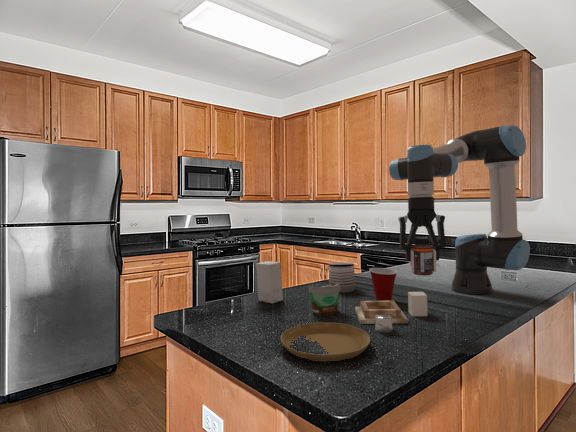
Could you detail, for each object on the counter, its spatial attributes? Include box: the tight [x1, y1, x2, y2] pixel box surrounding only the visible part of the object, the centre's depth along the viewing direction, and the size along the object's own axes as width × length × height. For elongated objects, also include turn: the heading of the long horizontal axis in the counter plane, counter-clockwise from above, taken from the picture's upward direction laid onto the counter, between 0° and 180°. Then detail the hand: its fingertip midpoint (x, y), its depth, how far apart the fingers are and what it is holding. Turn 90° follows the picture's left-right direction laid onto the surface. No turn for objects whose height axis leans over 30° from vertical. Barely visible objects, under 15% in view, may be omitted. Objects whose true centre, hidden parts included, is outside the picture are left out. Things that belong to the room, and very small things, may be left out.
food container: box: [308, 282, 341, 316], centre depth 132 cm, size 12×6×10 cm, turn 117°
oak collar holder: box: [354, 299, 409, 325], centre depth 127 cm, size 15×15×4 cm
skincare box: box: [255, 260, 284, 304], centre depth 152 cm, size 8×7×16 cm
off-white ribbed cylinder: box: [328, 261, 356, 293], centre depth 166 cm, size 11×11×12 cm
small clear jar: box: [374, 314, 393, 334], centre depth 114 cm, size 5×5×4 cm
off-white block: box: [407, 291, 428, 317], centre depth 128 cm, size 5×5×7 cm
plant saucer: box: [280, 322, 371, 362], centre depth 103 cm, size 24×24×3 cm
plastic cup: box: [369, 267, 399, 301], centre depth 146 cm, size 11×11×12 cm
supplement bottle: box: [411, 236, 434, 277], centre depth 116 cm, size 6×6×11 cm
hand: (422, 271), depth 116 cm, fingers closed on supplement bottle, 6 cm apart
